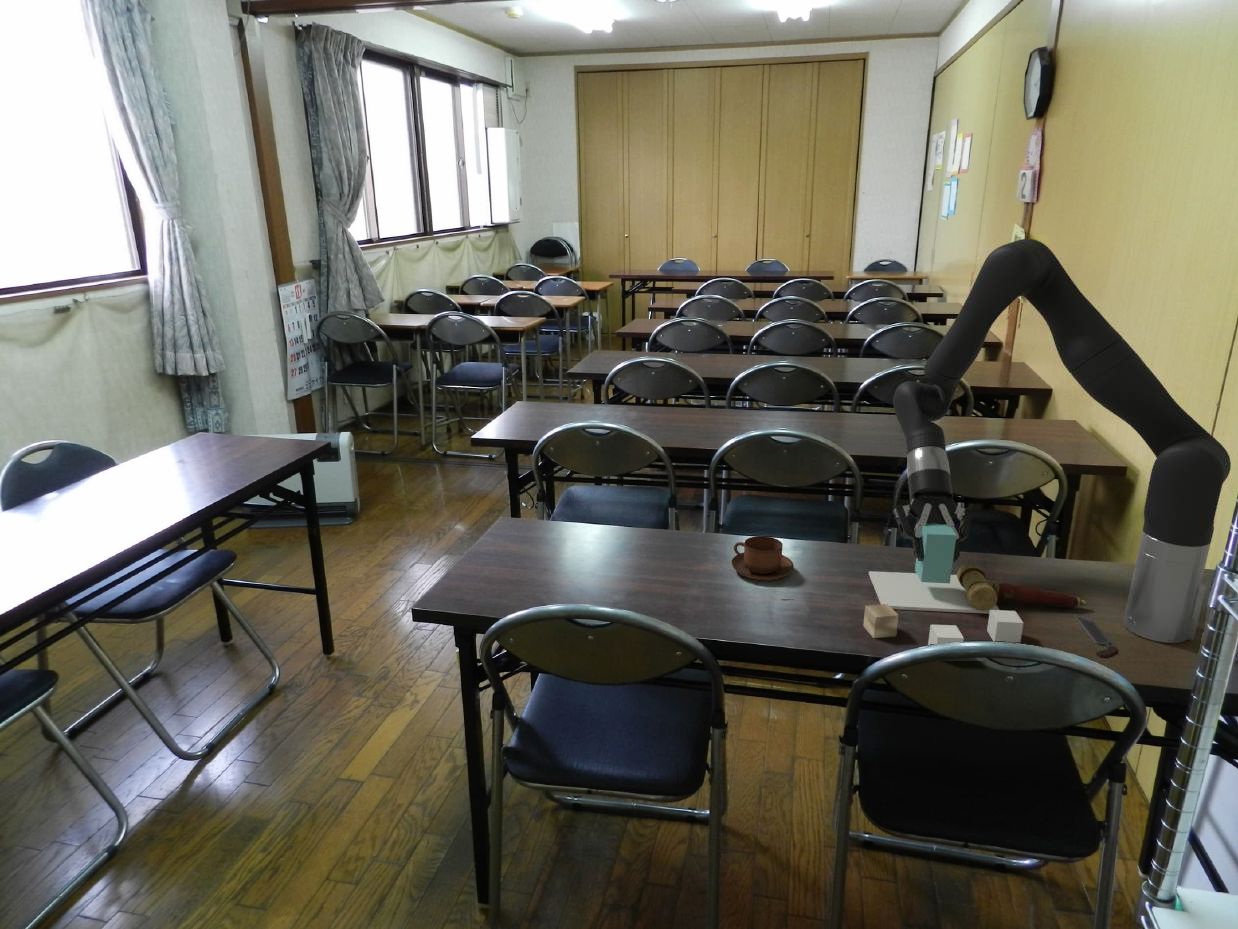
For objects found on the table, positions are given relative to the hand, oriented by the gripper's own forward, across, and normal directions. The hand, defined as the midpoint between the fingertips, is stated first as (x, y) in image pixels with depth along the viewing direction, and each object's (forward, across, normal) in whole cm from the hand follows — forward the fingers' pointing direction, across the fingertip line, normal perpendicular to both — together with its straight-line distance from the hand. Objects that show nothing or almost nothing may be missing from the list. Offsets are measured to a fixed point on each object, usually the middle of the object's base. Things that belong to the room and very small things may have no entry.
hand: (937, 560), depth 144 cm
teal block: (+2, 0, +4) cm, 5 cm away
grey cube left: (+15, +8, -4) cm, 17 cm away
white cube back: (+19, -3, -8) cm, 21 cm away
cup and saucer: (0, -30, +11) cm, 33 cm away
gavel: (+6, +15, +4) cm, 17 cm away
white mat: (+4, 0, +6) cm, 8 cm away
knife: (+14, +23, -2) cm, 27 cm away
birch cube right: (+15, -12, -4) cm, 19 cm away
